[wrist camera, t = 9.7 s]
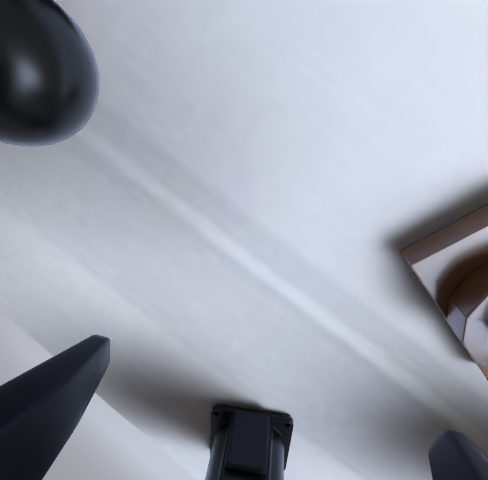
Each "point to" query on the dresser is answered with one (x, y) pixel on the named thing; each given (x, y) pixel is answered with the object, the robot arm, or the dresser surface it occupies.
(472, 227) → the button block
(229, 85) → the dresser surface
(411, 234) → the dresser surface
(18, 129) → the lever
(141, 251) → the dresser surface
